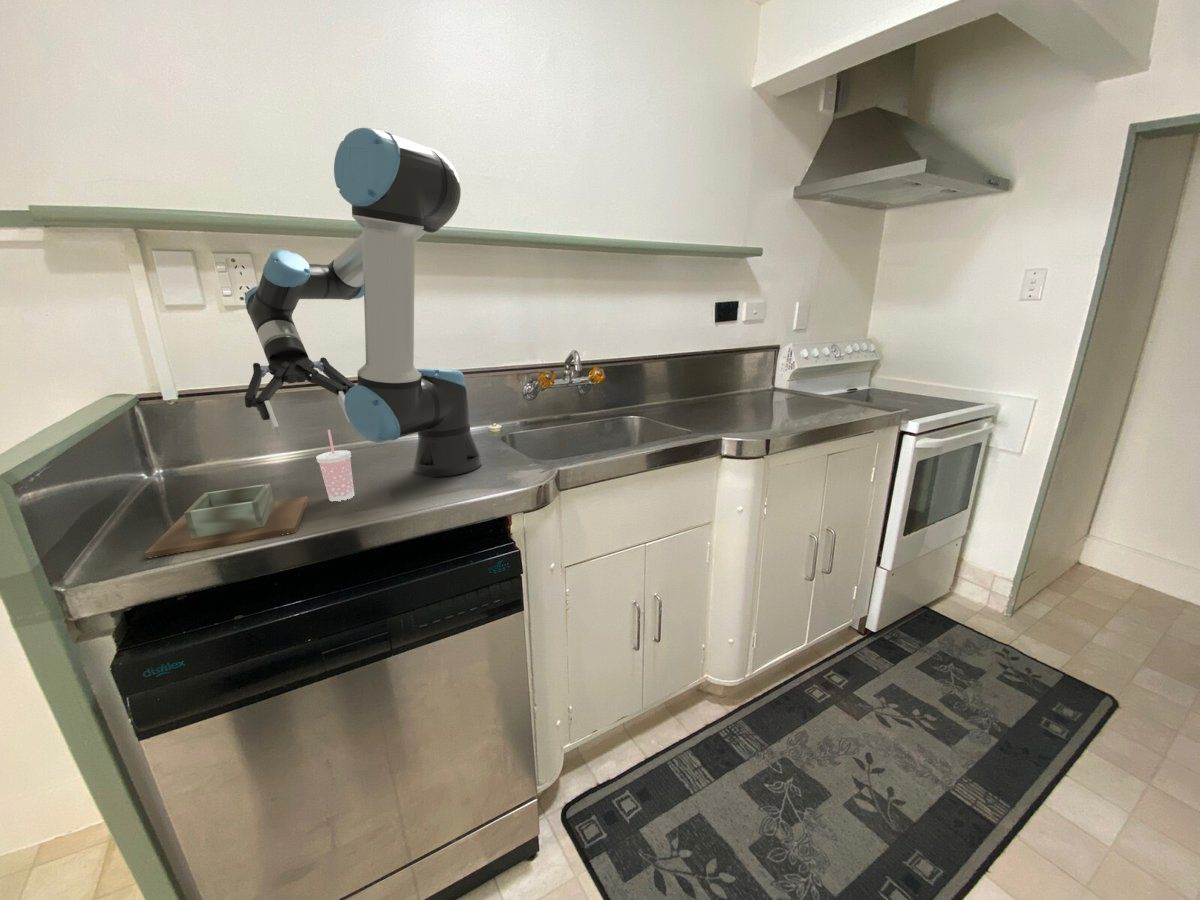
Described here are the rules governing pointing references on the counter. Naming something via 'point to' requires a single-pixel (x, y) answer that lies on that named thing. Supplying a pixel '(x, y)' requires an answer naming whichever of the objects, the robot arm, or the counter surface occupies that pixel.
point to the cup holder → (231, 520)
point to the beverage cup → (337, 473)
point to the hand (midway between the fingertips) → (315, 424)
